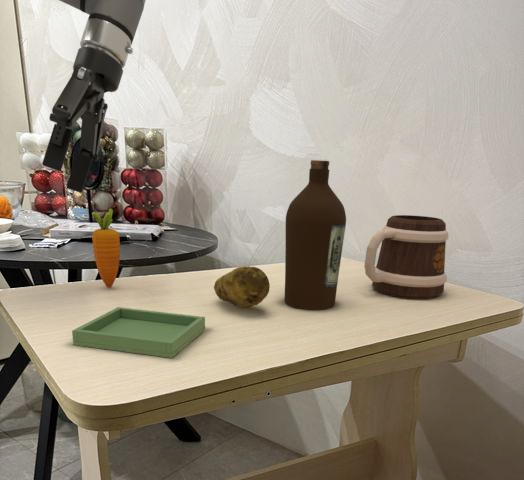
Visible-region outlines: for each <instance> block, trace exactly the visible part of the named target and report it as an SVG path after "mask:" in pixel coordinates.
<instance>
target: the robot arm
mask: <svg viewBox="0 0 524 480" xmlns="http://www.w3.org/2000/svg"><path fill="white" fill-rule="evenodd" d="M59 1H60V2H62V3H63V4H66V5H67V6H70V7H72V8H75V9H76V10H79V11H80V12H82V13H85V14H87V15H89V16H88V17H87V21H86V24H85V26H84V30H83V33H82V36H81V38H80V42H79V45H80V47H79V48H78V49H77V52H76V55H75V59H74V63H73V65H72V70H73V71H72V73H71V76H70V78H69V79H68V81H67V83H66V85H65V87H64V88H63V90H62V91H61V92H60V94H59V96H58V98H57V100H56V102H55V103H54V105H53V106H52V109H51V112H50V114H49V121H50V122H53V123H54V125H53V128H52V131H51V134H50V138H49V141H48V144H47V146H46V150H45V153H44V157H43V158H42V163H41V165H42V166H43V167H46V168H50V169H52V170H55V171H58V172H62V170H63V165H64V163H65V160H66V157H67V153H68V150H69V147H70V145H71V140H72V137H73V135H74V130H73V129H71V128H73V126H74V125H75V124H76V123H77V122H78V121H79V119H81V128H80V139H79V140H80V141H79V152H76V154H75V157H74V161H73V165H72V167H71V170H70V173H69V177H68V180H67V183H66V186H65V188H66V189H68V190H71V191H74V192H77V193H79V194H83V192H84V188H85V185H86V182H87V179H88V176H89V172H90V169H91V166H92V163H93V161H95V162H96V161H97V162H98V161H99V158H100V156H99V151H100V145H101V140H102V136H103V135H102V134H103V129H104V124H105V123H104V122H105V118H106V114H107V110H108V103H106V102H105V101H106V100H105V93H114V92H117V91H118V90H119V86H120V83H121V80H122V77H123V74H124V69H123V68H125V66H126V64H127V60H128V57H129V55H132V54H133V51H134V50H133V49H134V48H133V47H132V45H133V42H134V40H135V36H136V33H137V30H138V27H139V23H140V21H141V17H142V15H143V12H144V10H145V4H146V1H147V0H59Z"/></svg>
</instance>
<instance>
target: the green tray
mask: <svg viewBox="0 0 524 480" xmlns="http://www.w3.org/2000/svg"><path fill="white" fill-rule="evenodd" d="M204 331H206V317H205V316H199V315H191V314H182V313H174V312H173V313H172V312H166V311H165V312H164V311H156V310H146V309H138V308H130V307H129V308H128V307H121V306H120V307H119V306H118V307H116V308H113V309H111V310H110V311H107V312H106V313H103V314H102V315H99V316H98V317H96V318H94V319H92V320H90V321H88V322H86V323H84V324H82V325H79V327H76V328H74V329H72V330H71V334H72V345H73V346H80V347H87V348H95V349H102V350H109V351H117V352H125V353H132V354H138V355H147V356H155V357H163V358H168V359H173V358H174V357H175V356H176V355H177V354H178V353H180V352H181V351H182V350H183V349H184V348H186V347H187V346H188V345H189V344H190V343H191V342H193V341H194V340H195V339H196V338H197V337H198V336H200V335H201V334H202V333H203V332H204Z"/></svg>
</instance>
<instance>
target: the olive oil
mask: <svg viewBox="0 0 524 480" xmlns="http://www.w3.org/2000/svg"><path fill="white" fill-rule="evenodd" d="M329 167H330V161H329V160H317V159H316V160H315V159H312V160H310V168H309V170H308V171H309V173H308V183H307V185H306V186H305V187H304V188H303V189H302V190H301V191H300V192H299V193H298V194H297V195H296V196H295V197H294V198H293V199H292V201H290V203H289V205H288V207H287V211H286V214H285V251H284V252H285V253H284V254H285V258H284V259H285V262H284V263H285V264H284V265H285V266H284V267H285V268H284V303H285V304H286V305H288V306H290V307H293V308H296V309H301V310H312V311H313V310H317V311H318V310H326V309H327V310H328V309H331V308H333V307H335V304H336V299H337V291H338V283H339V275H340V267H341V260H342V253H343V246H344V241H345V232H346V225H347V214H346V209H345V207H344V204H343V202H342V201H341V199H339V197H338V196H337V194H336V193H335V192H334V190H333V189H332V188H331V186H330V184H329V179H330V169H329Z"/></svg>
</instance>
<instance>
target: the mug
mask: <svg viewBox="0 0 524 480" xmlns="http://www.w3.org/2000/svg"><path fill="white" fill-rule="evenodd" d="M448 240H449V231H448V230H447V224H446V222H445V221H444V220H443V219H442V218H438V217H433V216H424V215H411V214H410V215H408V214H398V215H397V214H396V215H392V216H390V217H388V218H387V221H386V224H385V225H384V226H383V227H382V230H380V229H379V230H378V231H376V233H375V234H373V236H372V237H371V238H370V240H369V243H368V245H367V247H366V251H365V259H364V273H365V276H367V277H368V279H369V280H370V281H371V286H372V288H373V289H374V290H375V291H376V292H378V293H381V294H383V295H387V296H390V297H395V298H401V299H402V298H403V299H410V300H411V299H412V300H414V299H415V300H427V299H433V298H437V297H439V296H440V295H442V294H444V292H445V283H446V282H447V274H446V272H445V265H446V264H445V263H446V246H447V245H446V244H447V243H446V242H447V241H448ZM379 247H380V250H379V253H378V249H379ZM377 253H378V258H377ZM376 258H377V263H376Z"/></svg>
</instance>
